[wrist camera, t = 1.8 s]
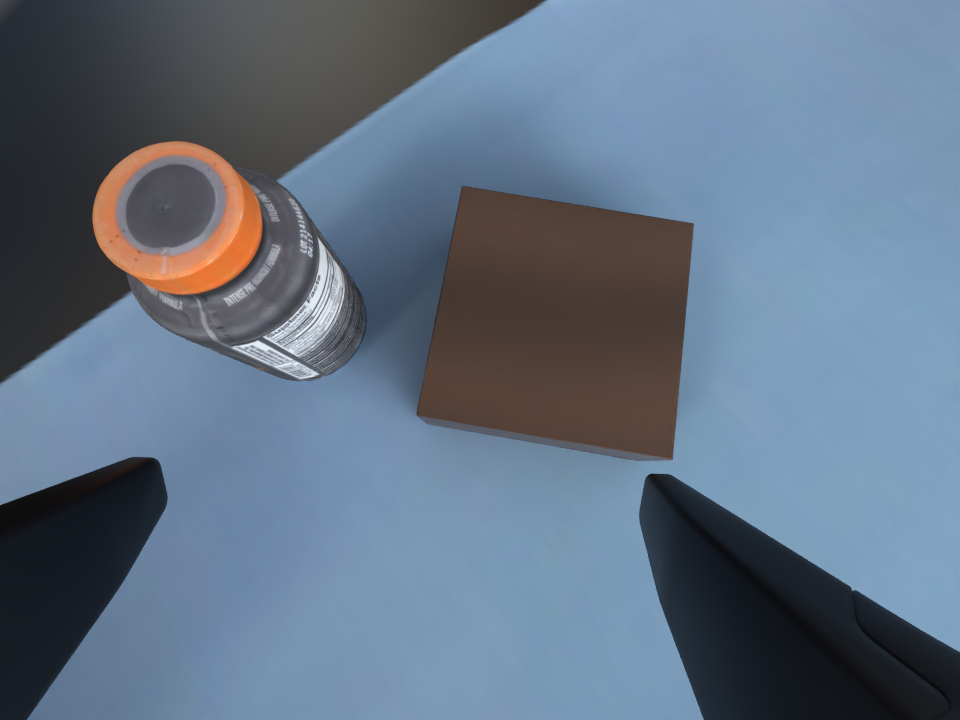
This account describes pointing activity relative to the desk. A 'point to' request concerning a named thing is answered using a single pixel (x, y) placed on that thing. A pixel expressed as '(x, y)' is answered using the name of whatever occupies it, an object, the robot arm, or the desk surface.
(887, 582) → the desk surface
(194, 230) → the pill bottle
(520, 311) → the block
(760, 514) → the desk surface
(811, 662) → the robot arm
